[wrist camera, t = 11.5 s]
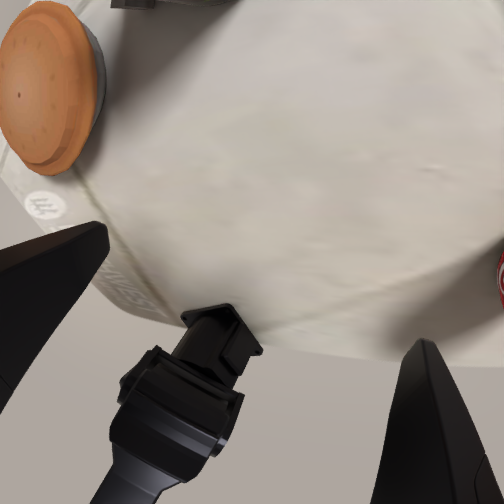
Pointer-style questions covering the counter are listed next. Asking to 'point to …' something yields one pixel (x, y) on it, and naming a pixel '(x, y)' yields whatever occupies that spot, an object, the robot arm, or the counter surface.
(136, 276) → the counter surface
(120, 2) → the corner bracket
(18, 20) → the pie
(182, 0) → the supplement bottle
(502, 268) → the soda can
